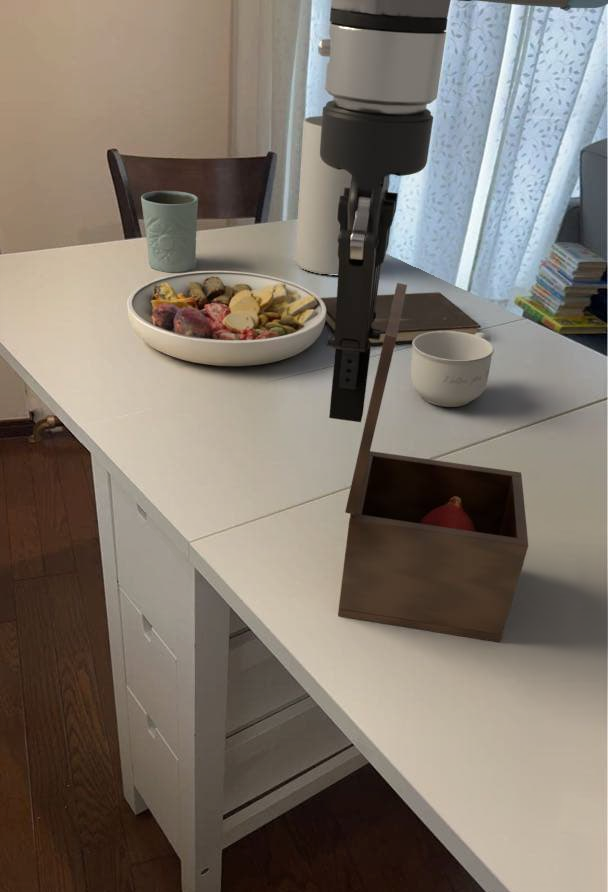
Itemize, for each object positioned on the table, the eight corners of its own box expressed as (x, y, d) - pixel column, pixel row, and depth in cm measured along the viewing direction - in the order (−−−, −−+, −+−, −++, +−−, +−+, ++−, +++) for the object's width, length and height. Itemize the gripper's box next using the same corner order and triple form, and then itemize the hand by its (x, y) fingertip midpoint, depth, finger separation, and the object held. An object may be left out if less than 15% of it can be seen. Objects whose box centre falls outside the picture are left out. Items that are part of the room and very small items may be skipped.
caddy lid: (407, 284, 66) (397, 282, 66) (396, 337, 57) (384, 335, 57) (369, 446, 76) (360, 444, 76) (354, 515, 66) (344, 512, 66)
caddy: (497, 563, 81) (521, 472, 75) (500, 642, 72) (528, 545, 65) (352, 541, 82) (364, 449, 76) (337, 616, 73) (349, 518, 67)
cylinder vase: (326, 281, 147) (338, 131, 132) (281, 262, 154) (288, 118, 140) (372, 269, 154) (389, 126, 140) (328, 252, 162) (339, 114, 147)
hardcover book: (478, 339, 129) (481, 325, 128) (345, 348, 123) (346, 333, 122) (436, 303, 141) (438, 290, 140) (313, 310, 135) (314, 296, 134)
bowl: (183, 288, 139) (182, 242, 135) (347, 320, 132) (352, 272, 128) (91, 350, 116) (86, 297, 111) (284, 392, 109) (287, 337, 104)
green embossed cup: (164, 277, 143) (161, 207, 136) (133, 261, 149) (129, 193, 142) (210, 267, 149) (209, 199, 142) (178, 253, 155) (176, 187, 148)
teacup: (442, 422, 105) (453, 365, 100) (388, 390, 112) (396, 335, 107) (513, 399, 112) (527, 345, 107) (459, 370, 119) (469, 318, 114)
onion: (401, 564, 79) (421, 486, 77) (457, 576, 79) (478, 498, 78) (411, 578, 73) (432, 493, 72) (471, 591, 73) (494, 507, 72)
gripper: (337, 85, 59) (314, 378, 73) (308, 111, 49) (288, 447, 63) (438, 95, 59) (395, 389, 73) (430, 123, 48) (382, 460, 62)
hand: (346, 415), depth 68 cm, fingers closed
